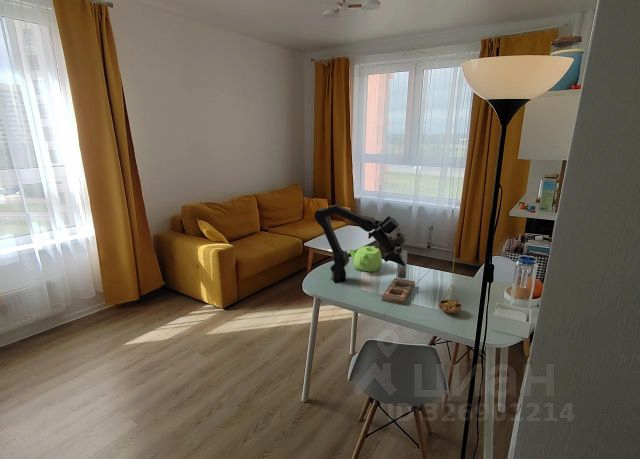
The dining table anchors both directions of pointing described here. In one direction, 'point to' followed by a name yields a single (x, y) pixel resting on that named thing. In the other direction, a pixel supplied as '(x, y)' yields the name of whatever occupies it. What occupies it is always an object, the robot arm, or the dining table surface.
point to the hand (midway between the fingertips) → (405, 263)
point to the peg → (401, 268)
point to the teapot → (367, 258)
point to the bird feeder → (449, 304)
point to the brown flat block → (398, 291)
